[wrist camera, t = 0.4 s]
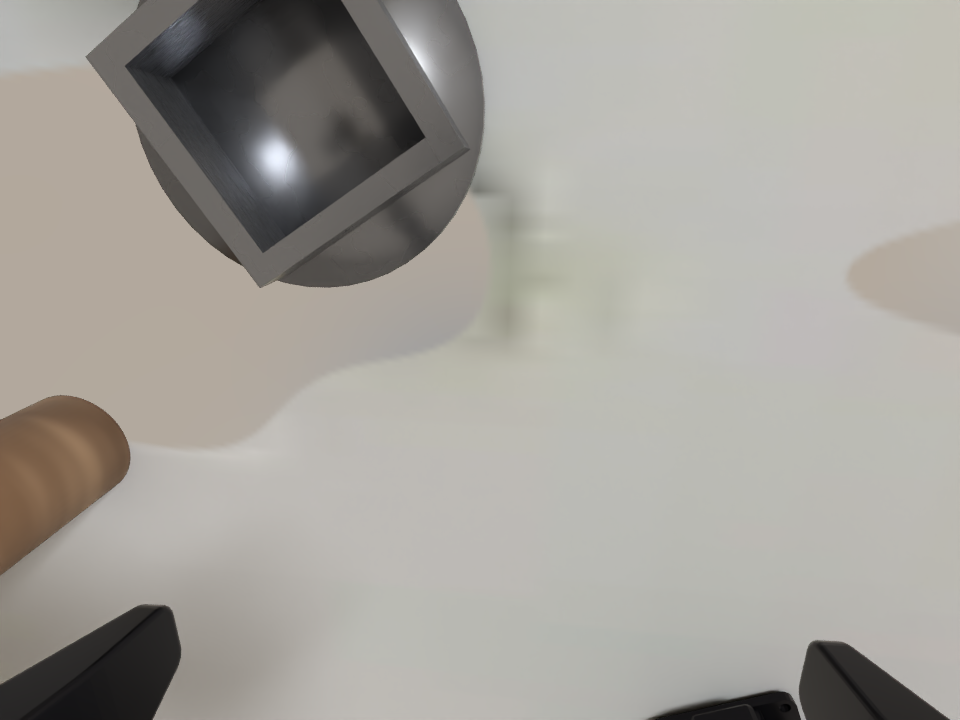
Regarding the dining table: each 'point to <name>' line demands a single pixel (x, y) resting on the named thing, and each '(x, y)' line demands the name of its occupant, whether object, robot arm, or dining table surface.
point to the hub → (304, 126)
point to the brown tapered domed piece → (54, 469)
